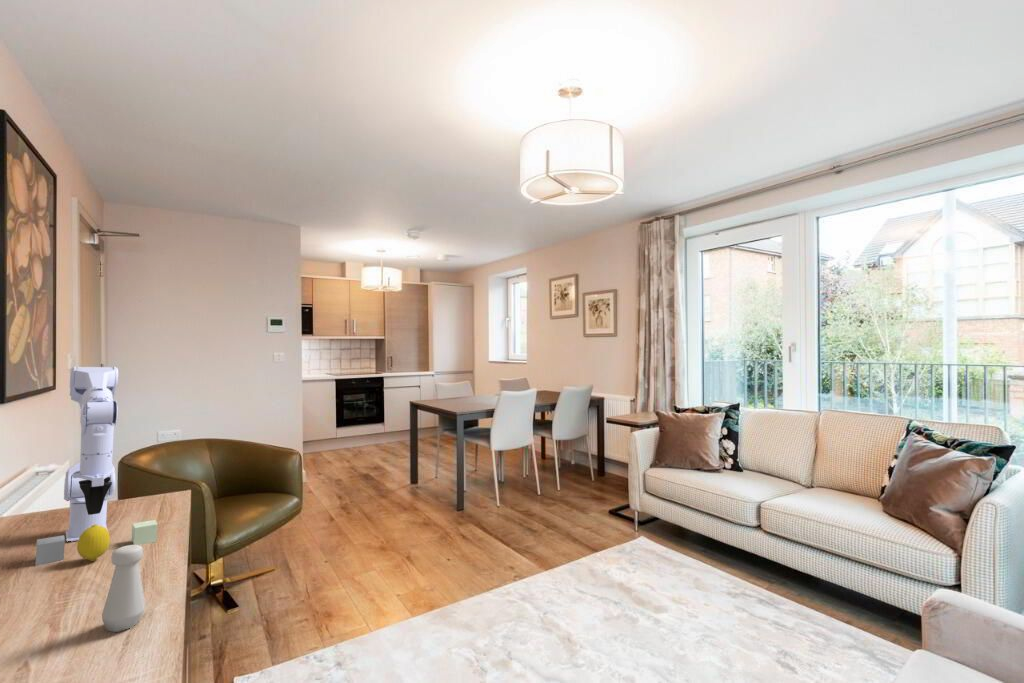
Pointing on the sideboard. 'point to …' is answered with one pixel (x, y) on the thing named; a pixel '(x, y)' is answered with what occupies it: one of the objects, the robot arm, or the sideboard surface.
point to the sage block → (144, 532)
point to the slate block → (50, 550)
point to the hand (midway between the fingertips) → (93, 512)
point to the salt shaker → (125, 590)
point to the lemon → (93, 542)
